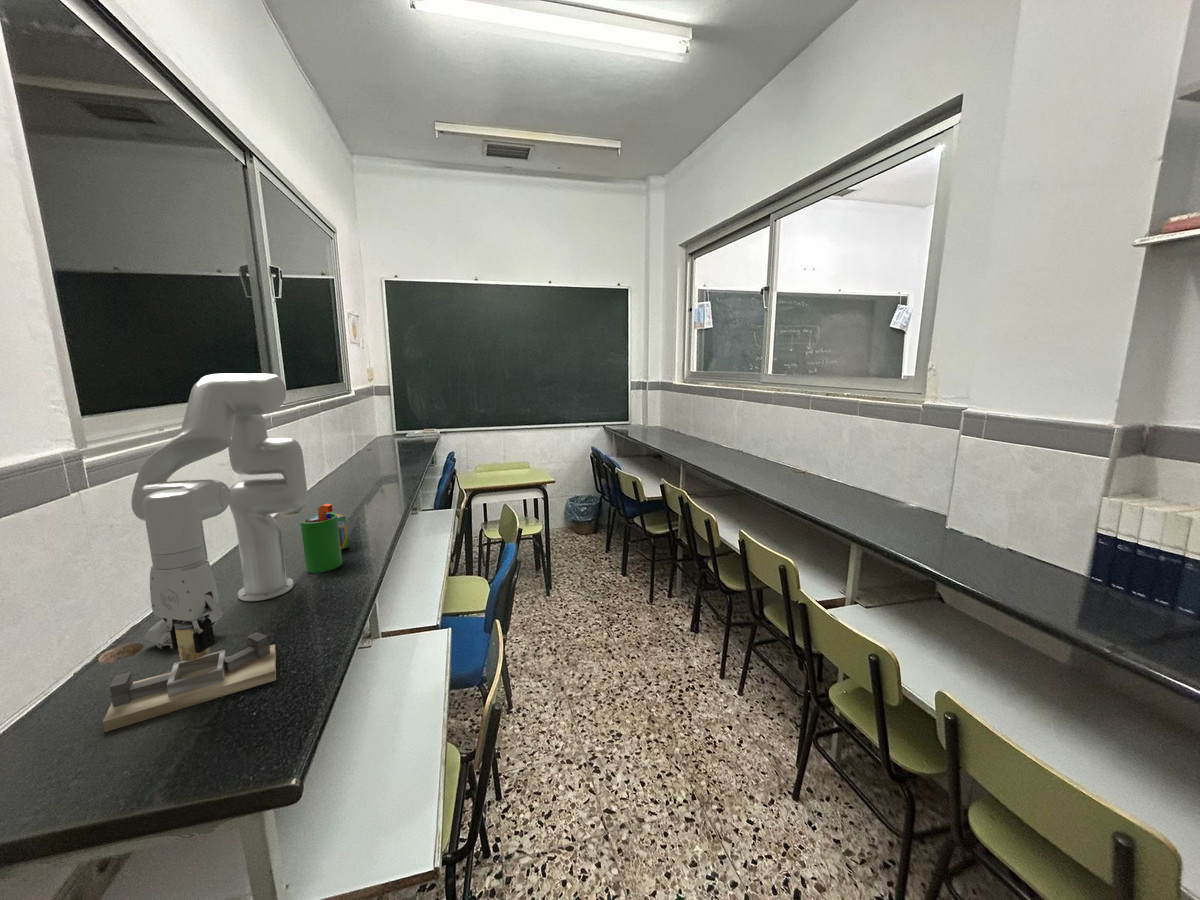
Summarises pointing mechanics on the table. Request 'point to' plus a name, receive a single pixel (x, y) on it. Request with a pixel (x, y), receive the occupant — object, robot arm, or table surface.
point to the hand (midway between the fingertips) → (194, 646)
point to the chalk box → (341, 527)
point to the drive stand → (191, 683)
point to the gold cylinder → (187, 640)
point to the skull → (160, 634)
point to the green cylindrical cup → (322, 541)
